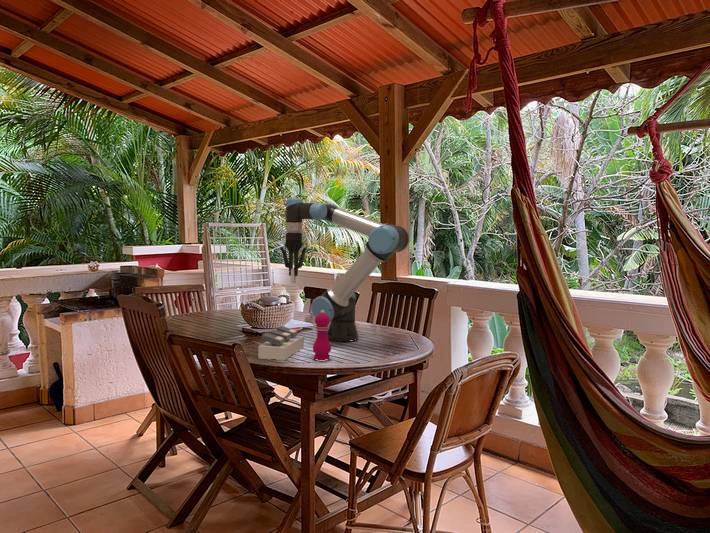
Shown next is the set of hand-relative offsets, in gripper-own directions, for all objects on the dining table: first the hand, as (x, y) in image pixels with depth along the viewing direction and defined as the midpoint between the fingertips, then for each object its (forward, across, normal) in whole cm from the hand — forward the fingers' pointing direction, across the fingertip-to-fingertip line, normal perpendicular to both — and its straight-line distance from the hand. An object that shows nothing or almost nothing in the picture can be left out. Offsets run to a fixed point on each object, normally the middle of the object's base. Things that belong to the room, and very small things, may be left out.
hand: (293, 283), depth 252 cm
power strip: (+26, +5, -24) cm, 36 cm away
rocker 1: (+19, +4, -35) cm, 40 cm away
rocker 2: (+19, +4, -27) cm, 33 cm away
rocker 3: (+19, +4, -19) cm, 27 cm away
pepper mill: (+27, +24, -33) cm, 49 cm away
